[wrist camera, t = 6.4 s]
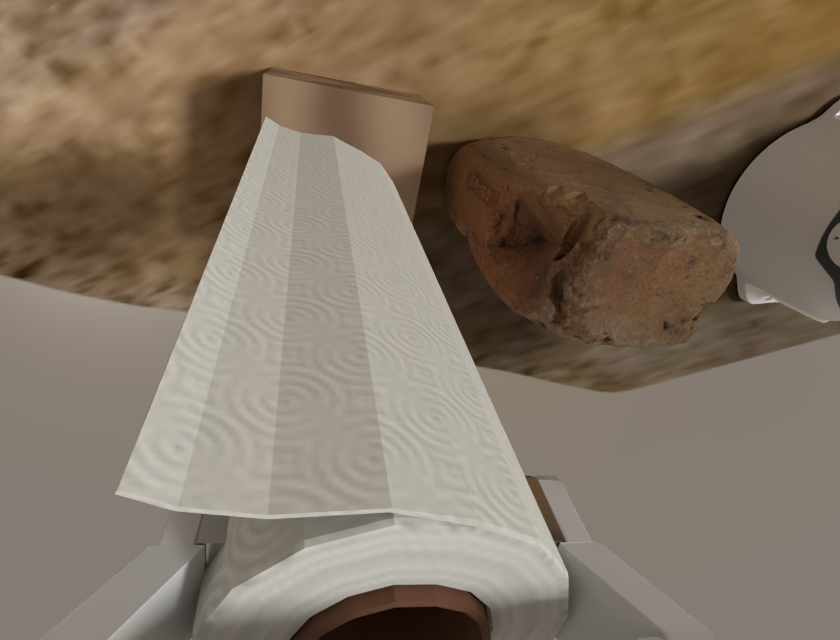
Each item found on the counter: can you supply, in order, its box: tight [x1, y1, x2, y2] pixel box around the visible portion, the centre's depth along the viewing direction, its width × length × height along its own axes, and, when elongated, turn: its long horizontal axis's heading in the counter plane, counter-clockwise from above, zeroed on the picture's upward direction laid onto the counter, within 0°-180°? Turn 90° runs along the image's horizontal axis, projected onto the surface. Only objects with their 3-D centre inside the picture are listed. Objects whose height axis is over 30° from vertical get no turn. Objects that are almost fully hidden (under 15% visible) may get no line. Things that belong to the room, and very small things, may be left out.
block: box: [445, 136, 740, 348], centre depth 32 cm, size 11×8×20 cm
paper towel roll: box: [115, 117, 569, 640], centre depth 17 cm, size 7×6×21 cm
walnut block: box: [261, 67, 434, 223], centre depth 35 cm, size 10×10×6 cm
